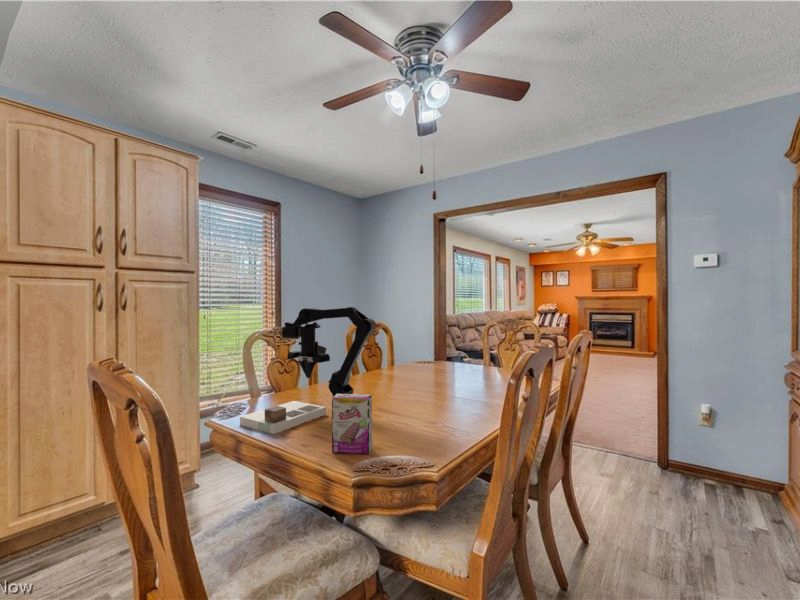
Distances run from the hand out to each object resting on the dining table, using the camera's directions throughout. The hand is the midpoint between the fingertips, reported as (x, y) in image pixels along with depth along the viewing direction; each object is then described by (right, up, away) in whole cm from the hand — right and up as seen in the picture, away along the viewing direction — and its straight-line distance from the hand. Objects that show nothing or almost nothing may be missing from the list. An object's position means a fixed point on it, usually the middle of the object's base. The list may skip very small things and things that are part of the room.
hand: (308, 377), depth 154 cm
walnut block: (-6, -10, -22) cm, 25 cm away
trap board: (-6, -13, -12) cm, 19 cm away
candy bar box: (+23, -13, -42) cm, 50 cm away
